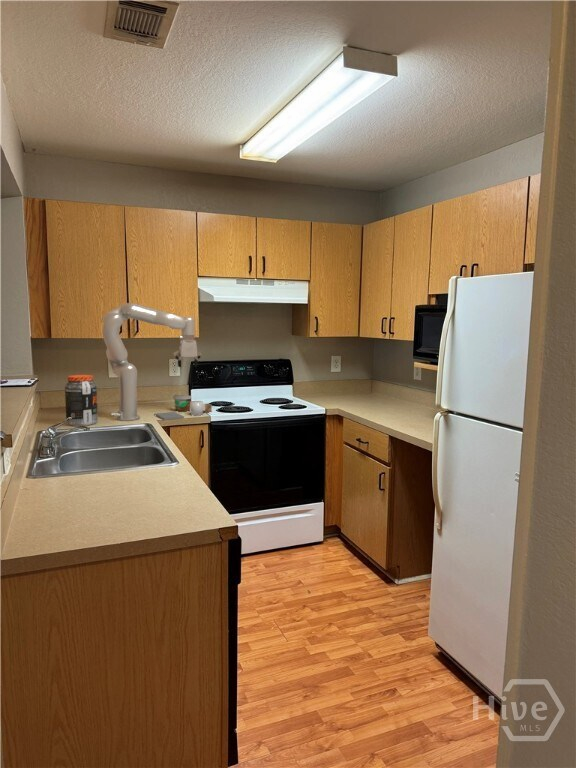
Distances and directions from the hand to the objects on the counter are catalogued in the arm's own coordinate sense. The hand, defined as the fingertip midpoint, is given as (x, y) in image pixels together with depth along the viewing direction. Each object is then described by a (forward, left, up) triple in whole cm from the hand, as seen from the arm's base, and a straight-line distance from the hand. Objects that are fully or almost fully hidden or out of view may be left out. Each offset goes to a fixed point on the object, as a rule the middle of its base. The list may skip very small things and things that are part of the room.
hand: (187, 366), depth 306 cm
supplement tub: (-61, -1, -28) cm, 67 cm away
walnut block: (+10, -3, -28) cm, 30 cm away
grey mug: (+2, -8, -28) cm, 29 cm away
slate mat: (-14, -5, -28) cm, 32 cm away
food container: (-2, +8, -28) cm, 29 cm away
